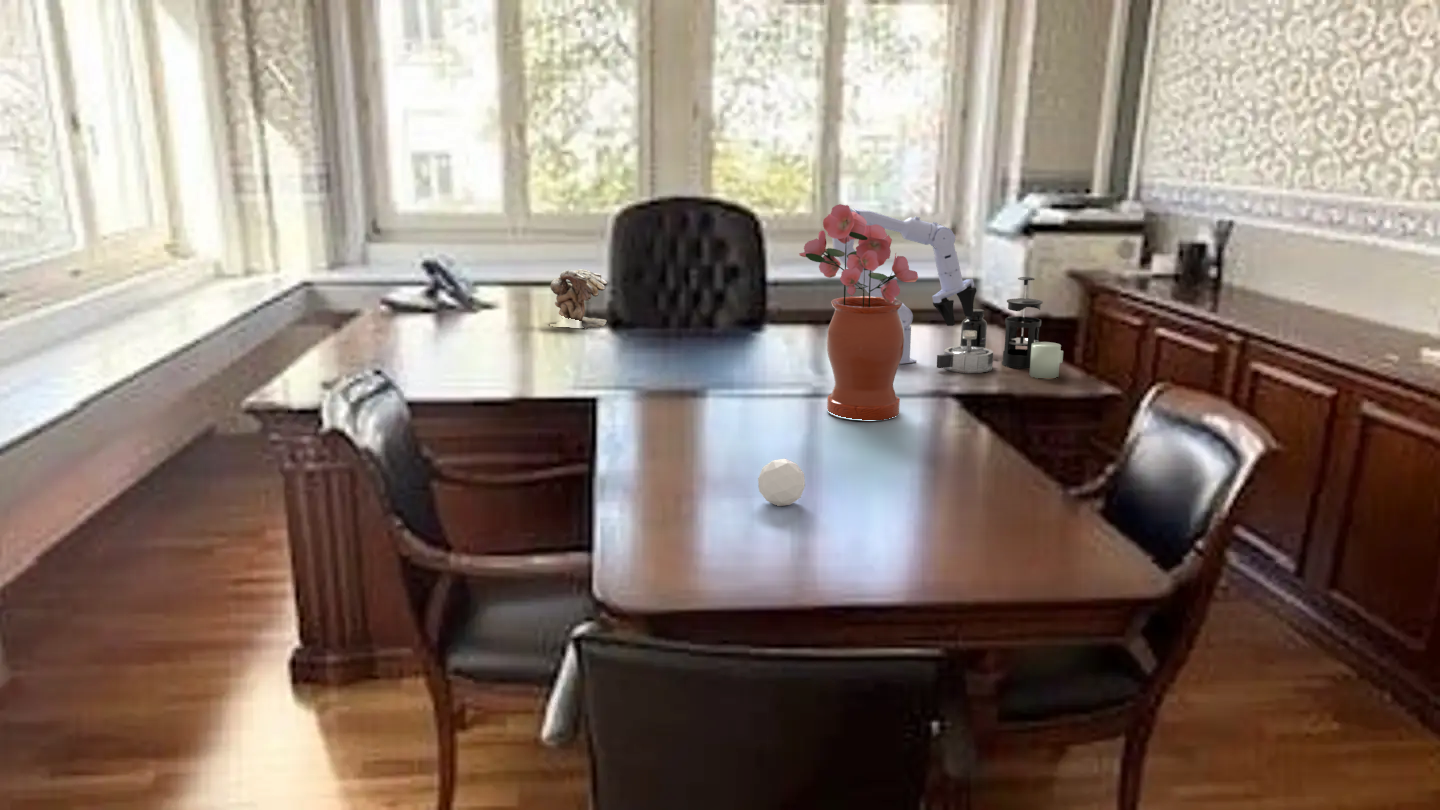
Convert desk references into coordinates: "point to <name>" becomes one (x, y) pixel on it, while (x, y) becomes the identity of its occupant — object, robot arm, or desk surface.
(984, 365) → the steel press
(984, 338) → the supplement bottle
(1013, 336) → the french press
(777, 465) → the geometric ball
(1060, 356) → the sage mug
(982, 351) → the plunger
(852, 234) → the potted flower
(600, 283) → the cherub figurine
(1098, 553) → the desk surface
